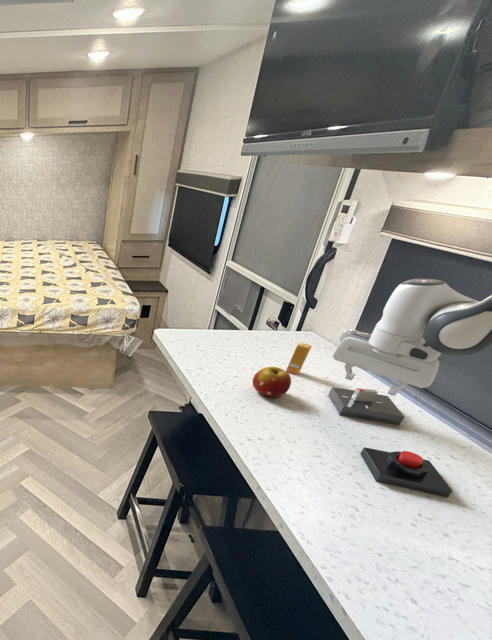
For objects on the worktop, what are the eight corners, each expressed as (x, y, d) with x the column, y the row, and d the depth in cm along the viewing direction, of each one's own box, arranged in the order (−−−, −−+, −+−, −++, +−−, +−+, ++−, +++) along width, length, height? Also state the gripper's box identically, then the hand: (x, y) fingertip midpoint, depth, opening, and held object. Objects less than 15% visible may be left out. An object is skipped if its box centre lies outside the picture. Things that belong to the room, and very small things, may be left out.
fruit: (265, 402, 116) (274, 379, 112) (242, 386, 123) (249, 364, 120) (293, 399, 117) (303, 375, 113) (268, 383, 125) (277, 361, 121)
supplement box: (297, 375, 129) (308, 348, 124) (285, 371, 132) (296, 344, 127) (300, 372, 131) (312, 345, 126) (288, 368, 133) (299, 341, 129)
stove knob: (369, 399, 111) (374, 388, 110) (373, 401, 110) (378, 391, 109) (350, 398, 112) (356, 387, 110) (354, 400, 111) (359, 390, 109)
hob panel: (382, 404, 114) (388, 395, 113) (399, 426, 105) (405, 416, 104) (328, 395, 119) (332, 386, 117) (339, 415, 110) (344, 405, 109)
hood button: (415, 459, 89) (419, 453, 88) (422, 469, 86) (427, 463, 85) (394, 455, 90) (398, 449, 89) (401, 465, 87) (405, 459, 87)
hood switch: (424, 467, 92) (433, 454, 90) (447, 498, 84) (457, 484, 82) (359, 453, 96) (367, 440, 94) (375, 482, 88) (384, 468, 86)
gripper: (339, 330, 108) (320, 373, 115) (443, 359, 93) (414, 407, 100) (349, 324, 111) (330, 367, 118) (451, 352, 96) (423, 399, 102)
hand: (369, 386), depth 109 cm, fingers open, 8 cm apart
